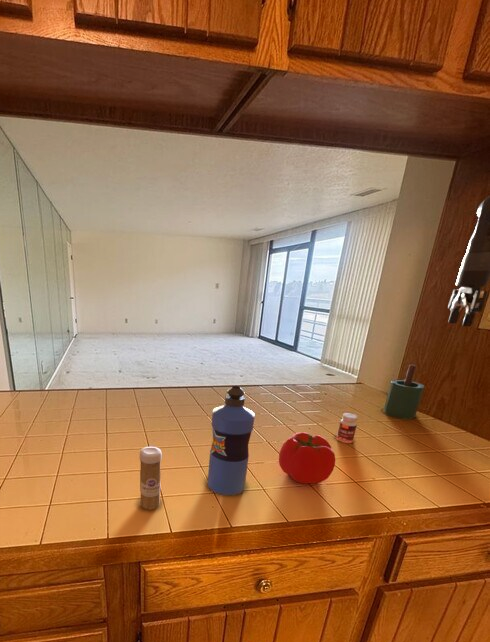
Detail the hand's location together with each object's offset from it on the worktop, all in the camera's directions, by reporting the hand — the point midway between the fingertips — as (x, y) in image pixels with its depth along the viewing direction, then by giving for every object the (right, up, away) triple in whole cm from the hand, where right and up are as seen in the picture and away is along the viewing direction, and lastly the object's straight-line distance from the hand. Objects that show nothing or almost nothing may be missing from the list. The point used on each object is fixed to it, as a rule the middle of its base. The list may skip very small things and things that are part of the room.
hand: (458, 324), depth 110 cm
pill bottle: (-37, -37, -1) cm, 52 cm away
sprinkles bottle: (-97, -49, -33) cm, 114 cm away
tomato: (-58, -45, -21) cm, 77 cm away
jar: (-5, -28, +21) cm, 36 cm away
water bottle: (-79, -46, -26) cm, 95 cm away
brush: (-5, -28, +21) cm, 35 cm away
